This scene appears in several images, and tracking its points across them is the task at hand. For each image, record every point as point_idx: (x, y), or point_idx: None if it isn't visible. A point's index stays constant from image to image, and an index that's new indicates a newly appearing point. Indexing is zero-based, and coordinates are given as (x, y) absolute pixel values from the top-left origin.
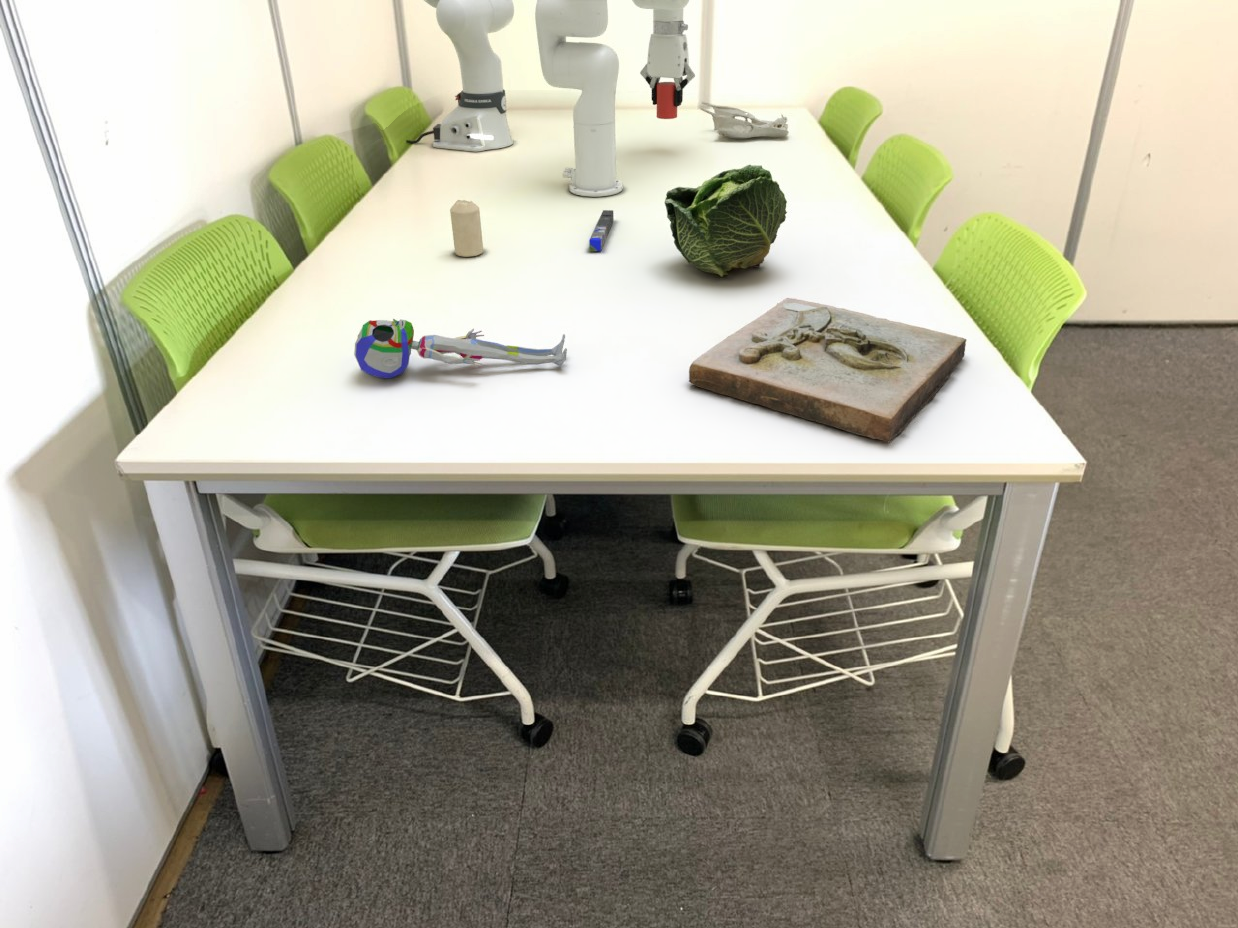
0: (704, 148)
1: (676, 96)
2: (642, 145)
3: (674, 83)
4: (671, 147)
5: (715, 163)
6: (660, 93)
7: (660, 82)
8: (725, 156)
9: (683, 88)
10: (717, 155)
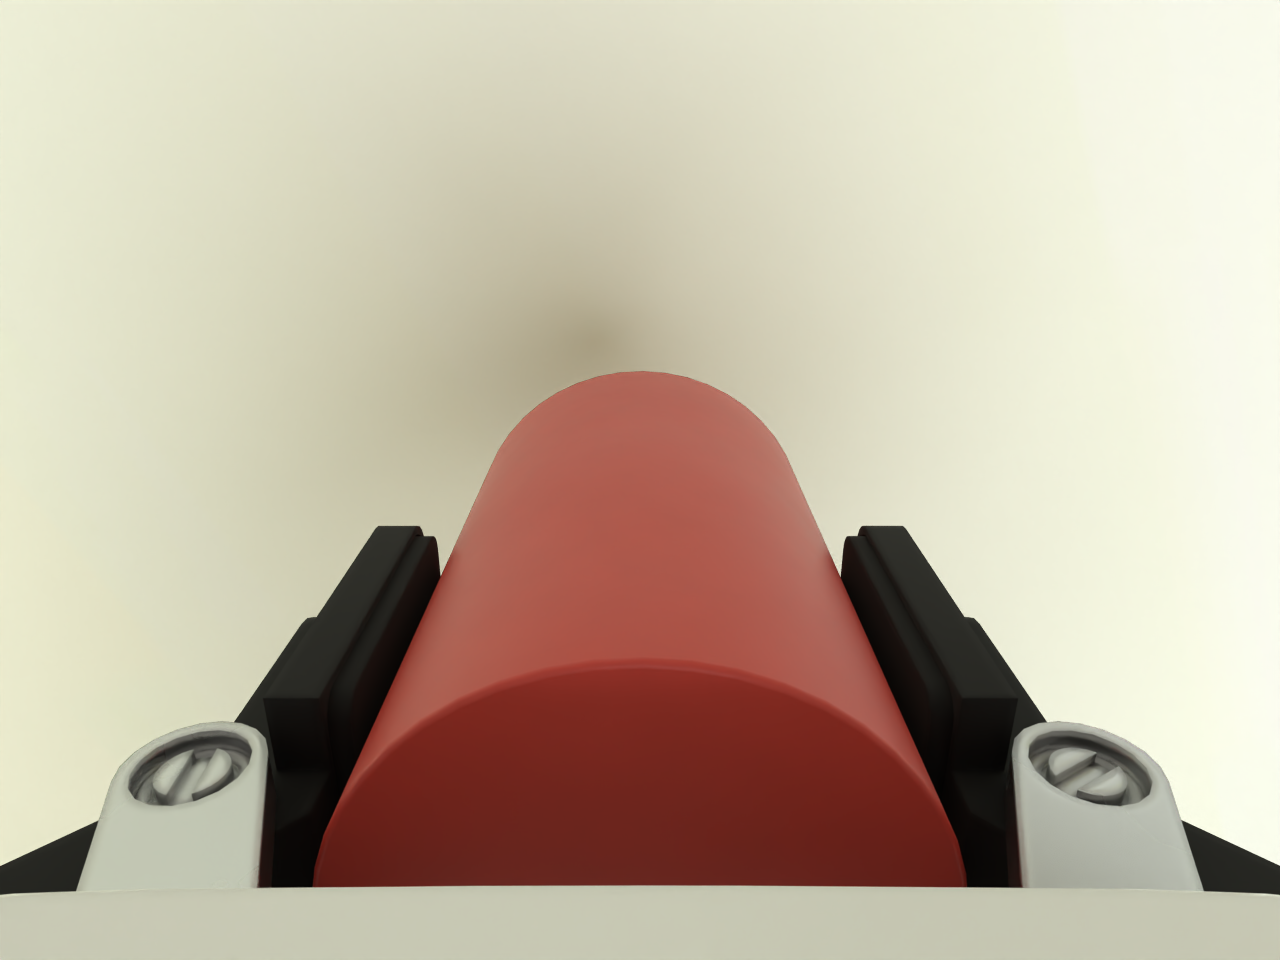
0: (963, 5)
1: None
2: (244, 169)
3: (855, 877)
4: (584, 123)
5: (1201, 551)
6: None
7: (341, 862)
8: (1263, 274)
9: (1101, 750)
10: (1173, 267)
